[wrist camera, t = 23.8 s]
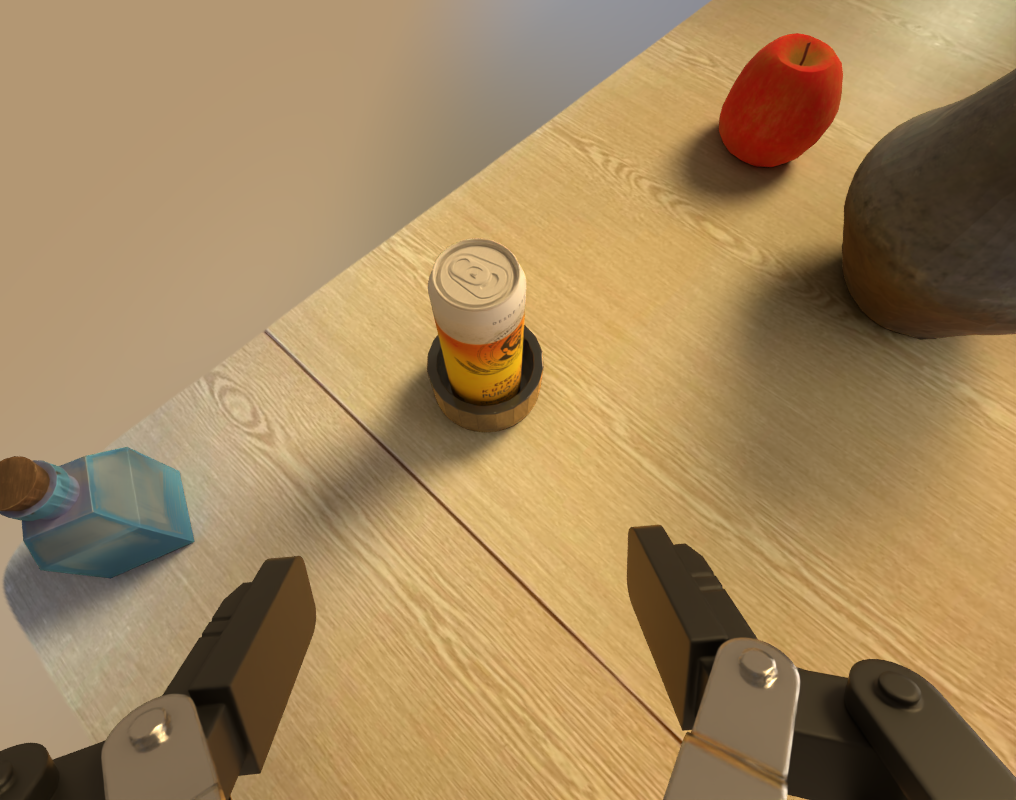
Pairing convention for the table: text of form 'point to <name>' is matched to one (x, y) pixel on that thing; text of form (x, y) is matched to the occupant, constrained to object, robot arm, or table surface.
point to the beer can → (480, 319)
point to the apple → (782, 101)
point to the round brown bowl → (489, 415)
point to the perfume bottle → (96, 511)
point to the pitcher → (938, 221)
